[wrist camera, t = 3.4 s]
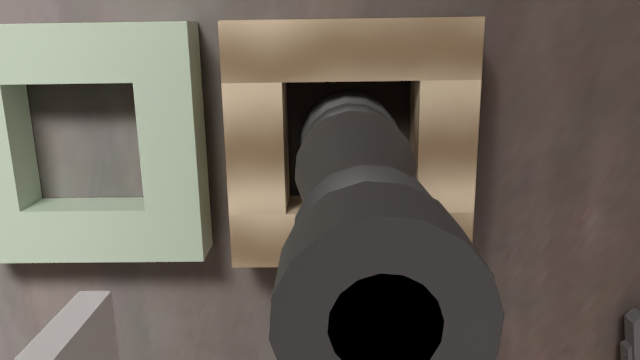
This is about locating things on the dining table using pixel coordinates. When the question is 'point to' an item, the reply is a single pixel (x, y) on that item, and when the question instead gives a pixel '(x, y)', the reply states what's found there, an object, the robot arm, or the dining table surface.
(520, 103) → the dining table surface
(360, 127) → the candle holder
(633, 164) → the dining table surface
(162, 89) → the green collar
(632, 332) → the graphics card
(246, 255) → the birch collar
